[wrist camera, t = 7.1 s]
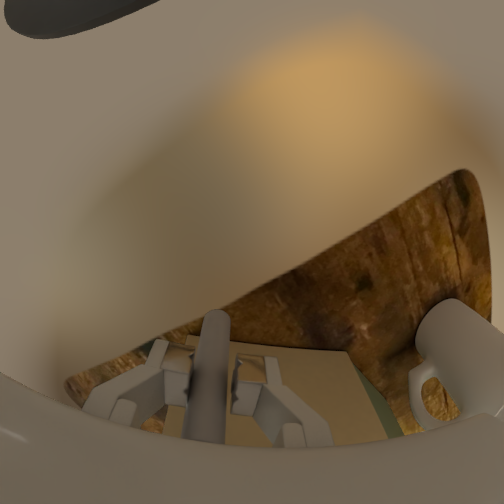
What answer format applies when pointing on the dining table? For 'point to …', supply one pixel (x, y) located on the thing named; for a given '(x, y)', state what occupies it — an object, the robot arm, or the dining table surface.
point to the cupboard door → (293, 376)
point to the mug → (459, 363)
